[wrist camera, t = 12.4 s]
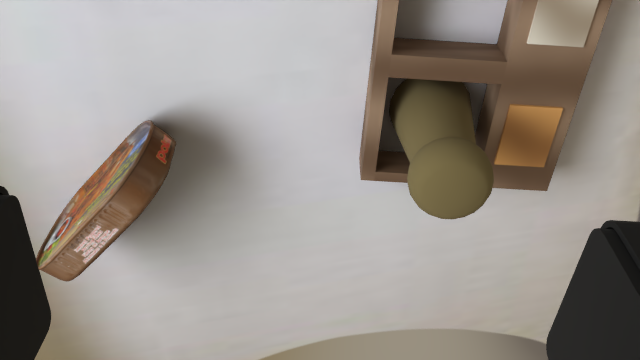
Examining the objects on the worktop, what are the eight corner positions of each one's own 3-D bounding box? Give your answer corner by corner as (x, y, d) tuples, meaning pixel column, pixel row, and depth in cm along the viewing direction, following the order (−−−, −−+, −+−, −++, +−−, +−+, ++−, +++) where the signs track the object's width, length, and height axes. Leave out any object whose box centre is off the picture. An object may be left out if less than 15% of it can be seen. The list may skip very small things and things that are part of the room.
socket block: (388, -96, 36) (393, -85, 34) (615, -80, 37) (637, -68, 34) (359, 158, 47) (360, 181, 44) (535, 168, 47) (547, 192, 45)
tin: (160, 100, 44) (128, 162, 38) (193, 126, 46) (169, 191, 39) (56, 213, 51) (12, 284, 44) (88, 233, 52) (50, 305, 45)
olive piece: (482, 79, 43) (523, 162, 34) (454, 149, 46) (484, 241, 37) (401, 62, 42) (421, 143, 33) (379, 134, 46) (391, 225, 37)
